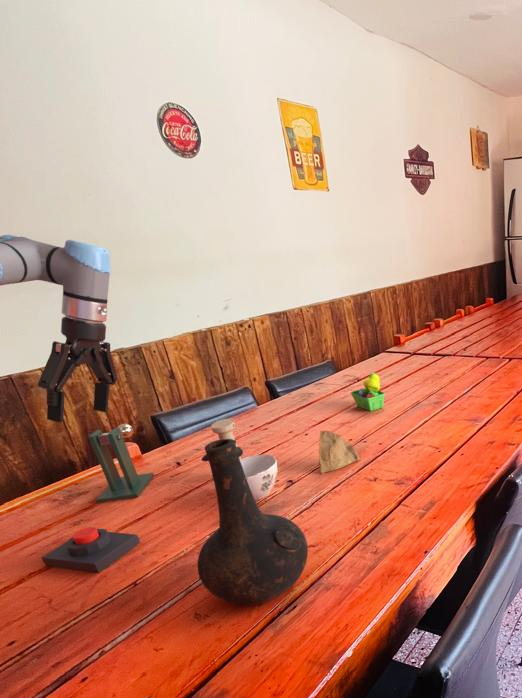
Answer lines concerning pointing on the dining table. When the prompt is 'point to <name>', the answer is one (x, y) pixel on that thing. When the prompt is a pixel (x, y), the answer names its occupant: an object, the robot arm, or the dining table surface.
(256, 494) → the teacup
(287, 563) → the glass bottle
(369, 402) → the fruit basket
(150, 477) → the bracket
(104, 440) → the lever
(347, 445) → the rock
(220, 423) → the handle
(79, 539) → the button
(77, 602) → the dining table surface
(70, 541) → the control block
